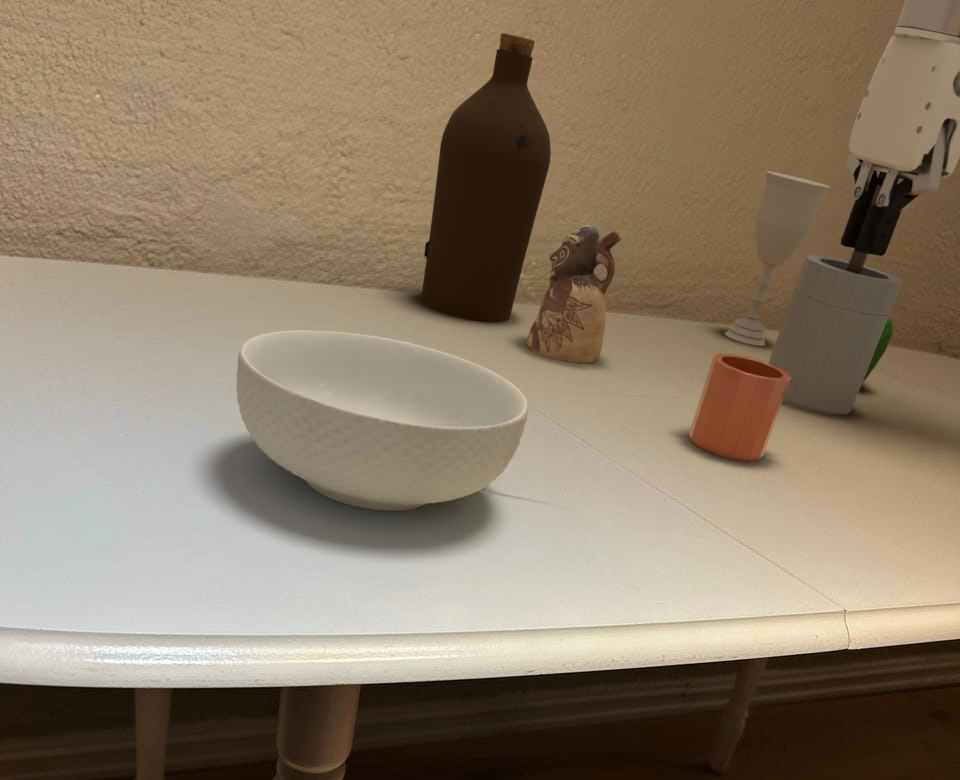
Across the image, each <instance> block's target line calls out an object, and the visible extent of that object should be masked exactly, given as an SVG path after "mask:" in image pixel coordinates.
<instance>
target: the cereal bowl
mask: <svg viewBox="0 0 960 780" xmlns="http://www.w3.org/2000/svg"><path fill="white" fill-rule="evenodd" d="M237 357H238V358H237V368H236V398H237V403H238V410H239V414H240V415H241V419H242V422H243V423H244V426H245V429H246V430H247V432H248V433H249V435H250V437H251V439H252V440H253V441H254V442H255V443H256V445H257V447H258V448H259V449H260V450H262V452H263V453H264V454H265V455H266V456H268V458H270V459H271V460H272V461H274V462H275V463H276V464H277V465H278V466H280V467H282V468H283V469H284V470H285V471H288V472H290V473H292V475H294V476H297V477H299V478H301V480H304V481H305V482H306V484H307V485H308V486H309V487H310V488H312V489H313V490H315V491H316V492H317V493H319V494H321V495H323V496H325V497H327V498H329V499H331V500H334V501H336V502H339V503H343V504H346V505H349V506H352V507H357V508H362V509H369V510H375V511H392V512H394V511H408V510H414V509H418V508H421V507H423V506H425V505H427V504H436V503H444V502H451V501H454V500H457V499H463V498H465V497H467V496H470V495H473V494H474V493H476V492H479V491H481V490H482V489H484V488H486V487H488V486H489V485H490V484H491V483H492V482H494V481H496V480H497V479H498V477H499V476H501V474H503V473H504V471H505V470H506V469H507V467H508V466H509V464H510V463H511V461H512V459H513V458H514V455H515V454H516V451H517V449H518V447H519V446H520V444H521V438H522V437H523V433H524V431H525V429H524V428H525V427H526V424H527V419H528V415H529V404H528V403H529V402H528V400H527V398H526V396H525V395H524V393H522V391H521V390H520V389H519V388H518V387H517V386H515V385H514V384H513V383H512V382H510V381H509V380H507V379H506V378H504V377H503V376H501V375H499V374H497V373H496V372H494V371H493V370H491V369H488V368H486V367H484V366H482V365H480V364H478V363H475V362H472V361H469V360H467V359H465V358H462V357H460V356H456V355H453V354H452V353H451V354H450V353H447V352H444V351H441V350H438V349H435V348H432V347H427V346H424V345H420V344H415V343H412V342H408V341H403V340H398V339H392V338H389V337H382V336H377V335H370V334H362V333H355V332H345V331H334V330H332V331H331V330H315V329H311V330H309V329H308V330H307V329H305V330H303V329H301V330H299V329H298V330H297V329H296V330H294V329H293V330H279V331H272V332H265V333H261V334H258V335H255V336H253V337H250V338H248V339H247V340H245V342H244V343H242V345H241V346H240V349H239V351H238V356H237Z"/></svg>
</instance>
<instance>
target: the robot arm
mask: <svg viewBox="0 0 960 780" xmlns="http://www.w3.org/2000/svg"><path fill="white" fill-rule="evenodd" d="M900 11H901V12H900V15H899V17H898V20H897V22H896V27H895V29H894V32H893V35H891V38H890V39H889V41H888V43H887V45H886V47H885V49H884V51H883V53H882V55H881V57H880V59H879V61H878V63H877V66H876V68H875V70H874V71H873V72H874V73H873V74H872V76H871V79H870V81H869V84H868V86H867V88H866V90H865V93H864V96H863V98H862V101H861V103H860V106H859V108H858V112H857V114H856V117H855V120H854V122H853V125H852V130H851V133H850V137H849V142H848V150H849V154H848V155H847V157H846V159H845V163H844V164H845V167H846V168H847V170H848V171H849V172H850V173H851V174H852V176H853V178H854V187H853V191H852V197H853V199H854V202H853V206H852V208H851V211H850V214H849V217H848V220H847V222H846V225H845V228H844V230H843V234H842V236H841V239H840V245H841V246H843V247H845V248H851V249H854V247H855V250H856V251H858V252H861V253H867V254H868V255H873V256H879V257H884V255H886V252H887V250H888V247H889V245H890V242H891V239H892V237H893V234H894V232H895V230H896V227H897V225H898V221H899V219H900V216H901V213H903V212H906V211H907V210H908V209H909V207H910V205H911V202H912V201H914V200H915V199H916V198H918V197H919V196H920V195H925V194H929V193H930V194H931V193H935V192H936V191H938V189H939V187H940V184H941V180H942V179H945V178H948V177H950V176H951V175H952V174H953V172H954V171H955V169H956V167H957V165H958V163H959V160H960V0H904V3H903V6H902V9H901V10H900ZM900 179H901V181H900ZM877 185H882V188H881V190H880V193H879V195H878V198H877V202H876V203H877V206H876V205H870V203H871V200H872V197H873V195H874V192H875V189H876V186H877ZM869 206H870V207H869ZM868 208H869V209H868ZM864 219H865V220H864ZM860 230H861V231H860ZM857 238H858V239H857ZM856 241H857V242H856Z"/></svg>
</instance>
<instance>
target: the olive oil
mask: <svg viewBox="0 0 960 780" xmlns="http://www.w3.org/2000/svg"><path fill="white" fill-rule="evenodd" d="M499 42H500V43H499V48H498V49H496V53H495V58H494V63H493V64H494V65H493V72H492V76H491V77H490V78H489V80H488V81H487V82H486V83H485V84H484V85H482V86H481V87H480V88H479V89H478V90H476V91H475V92H474V93H472V94H471V95H470V96H469V97H468V98H467V99H465V101H463V102H462V103H461V104H460V105H459V106H457V107H456V109H454V111H453V112H452V113H451V115H450V117H449V119H448V120H447V123H446V125H445V127H444V131H443V133H442V136H441V141H440V145H439V155H438V164H437V173H436V181H435V187H434V188H435V189H434V195H433V196H434V198H433V204H432V205H433V206H432V211H431V212H432V213H431V219H430V220H431V222H430V227H429V228H430V229H429V238H428V239H429V240H428V241H426V242H425V246H424V257H423V258H424V259H426V260H425V267H424V273H423V274H424V275H423V281H422V288H421V296H420V300H421V302H422V303H423V305H425V306H426V307H428V308H430V309H432V310H434V311H437V312H439V313H443V314H444V315H449V316H452V317H454V318H455V317H456V318H460V319H463V320H468V321H475V322H482V323H483V322H484V323H504V322H508V321H509V320H510V318H511V314H512V312H513V308H514V303H515V299H516V294H517V291H518V286H519V284H520V283H519V282H520V278H521V274H522V271H523V267H524V262H525V259H526V255H527V251H528V247H529V244H530V239H531V235H532V232H533V228H534V224H535V220H536V217H537V213H538V209H539V205H540V202H541V199H542V194H543V190H544V187H545V183H546V181H547V177H548V174H549V173H548V172H549V169H550V164H551V154H552V153H551V150H552V149H551V138H550V133H549V130H548V128H547V125H546V122H545V121H544V119H543V116H542V115H541V113H540V111H539V109H538V106H537V105H536V103H535V101H534V99H533V96H532V94H531V92H530V90H529V86H528V80H529V77H530V72H531V67H532V63H533V60H534V58H533V57H532V52H533V49H534V48H535V43H536V42H535V40H534V39H532V38H527V37H523V36H518V35H515V34H511V33H506V32H502V33H500V37H499Z"/></svg>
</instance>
